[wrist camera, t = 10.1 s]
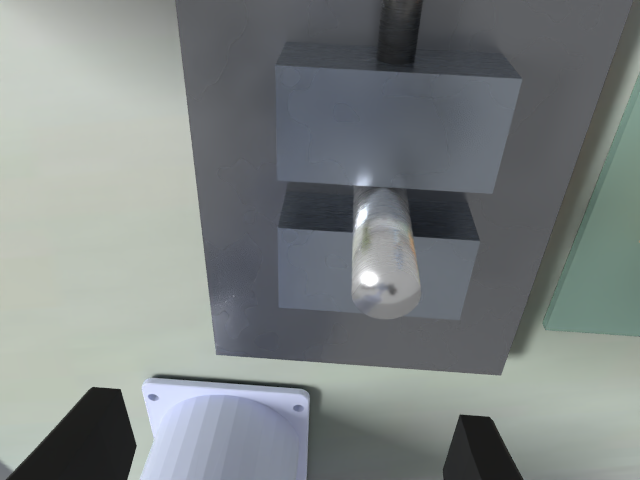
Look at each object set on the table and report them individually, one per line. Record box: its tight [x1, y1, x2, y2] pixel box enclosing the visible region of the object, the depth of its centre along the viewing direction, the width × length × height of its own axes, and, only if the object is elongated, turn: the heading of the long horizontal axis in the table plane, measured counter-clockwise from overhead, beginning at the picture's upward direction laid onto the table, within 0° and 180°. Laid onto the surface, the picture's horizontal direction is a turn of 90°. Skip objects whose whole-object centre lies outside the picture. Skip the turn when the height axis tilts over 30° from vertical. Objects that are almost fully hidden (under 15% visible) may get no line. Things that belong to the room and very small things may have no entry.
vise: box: [175, 0, 633, 375], centre depth 15 cm, size 18×12×7 cm, turn 178°
